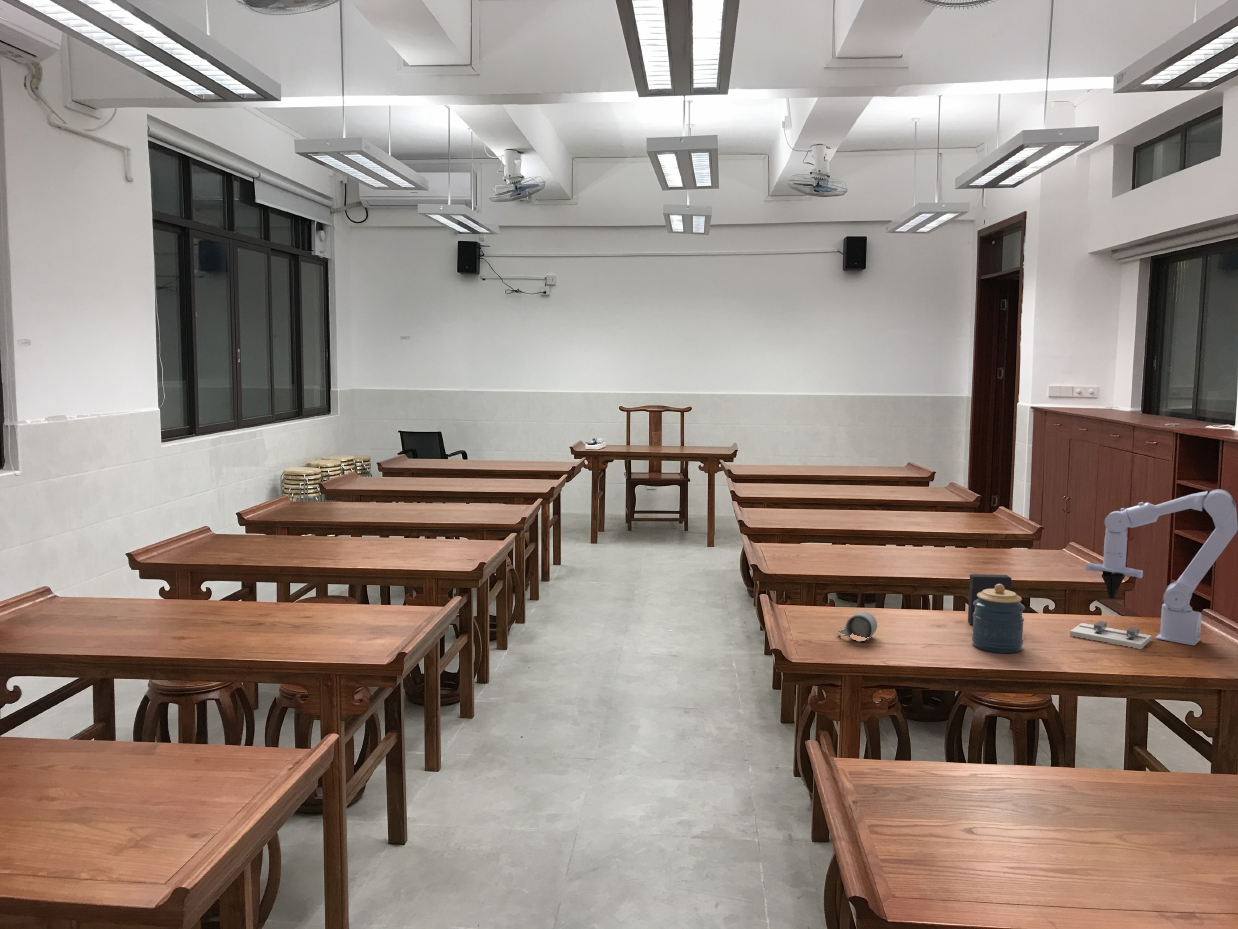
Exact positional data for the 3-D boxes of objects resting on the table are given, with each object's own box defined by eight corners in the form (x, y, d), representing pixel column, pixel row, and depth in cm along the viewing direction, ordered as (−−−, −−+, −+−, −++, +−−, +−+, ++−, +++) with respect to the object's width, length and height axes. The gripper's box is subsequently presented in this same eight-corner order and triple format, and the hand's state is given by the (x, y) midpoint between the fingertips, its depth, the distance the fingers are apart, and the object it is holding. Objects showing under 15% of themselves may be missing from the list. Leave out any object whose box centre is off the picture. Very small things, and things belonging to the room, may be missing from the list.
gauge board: (1150, 640, 246) (1151, 634, 246) (1140, 649, 238) (1141, 643, 238) (1081, 627, 259) (1081, 622, 259) (1069, 636, 251) (1070, 630, 251)
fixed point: (1139, 634, 246) (1139, 628, 246) (1133, 638, 242) (1133, 632, 242) (1131, 632, 247) (1131, 627, 247) (1125, 637, 243) (1125, 631, 243)
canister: (998, 656, 233) (1001, 591, 231) (961, 643, 244) (963, 581, 242) (1033, 650, 238) (1036, 587, 236) (995, 637, 250) (998, 576, 248)
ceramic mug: (878, 636, 250) (878, 610, 250) (872, 644, 243) (872, 617, 242) (840, 632, 255) (841, 606, 254) (834, 639, 248) (834, 613, 247)
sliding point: (1106, 628, 252) (1106, 622, 252) (1100, 632, 248) (1100, 626, 247) (1098, 626, 253) (1099, 621, 253) (1092, 631, 249) (1093, 625, 249)
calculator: (1004, 623, 264) (1006, 574, 262) (1009, 627, 260) (1011, 577, 258) (966, 621, 265) (968, 573, 263) (971, 626, 261) (973, 576, 259)
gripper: (1083, 550, 257) (1081, 596, 259) (1139, 558, 247) (1136, 605, 249) (1090, 547, 262) (1088, 591, 264) (1145, 554, 252) (1142, 600, 254)
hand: (1112, 598), depth 257 cm, fingers closed
